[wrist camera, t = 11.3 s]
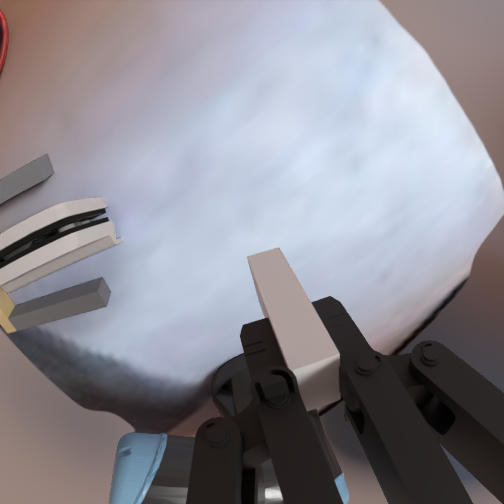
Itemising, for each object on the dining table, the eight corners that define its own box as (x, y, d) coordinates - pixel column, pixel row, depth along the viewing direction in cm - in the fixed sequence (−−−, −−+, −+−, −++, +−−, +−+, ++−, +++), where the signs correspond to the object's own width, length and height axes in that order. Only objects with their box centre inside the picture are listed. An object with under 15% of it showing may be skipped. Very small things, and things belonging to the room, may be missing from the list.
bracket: (110, 291, 31) (106, 306, 29) (13, 320, 30) (7, 333, 28) (47, 153, 22) (36, 159, 20) (-48, 212, 22) (-59, 222, 19)
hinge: (14, 289, 28) (-38, 319, 18) (0, 252, 27) (-55, 272, 17) (126, 240, 28) (83, 262, 19) (110, 194, 27) (60, 197, 18)
